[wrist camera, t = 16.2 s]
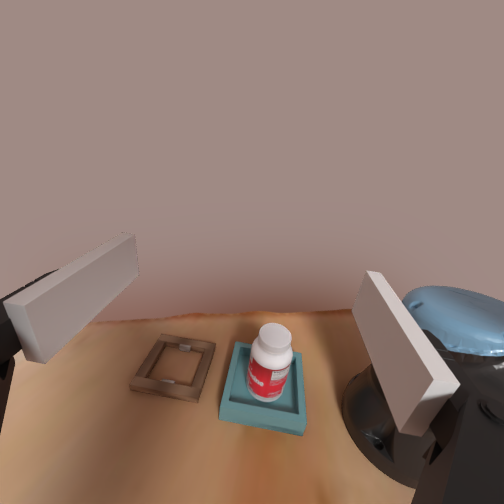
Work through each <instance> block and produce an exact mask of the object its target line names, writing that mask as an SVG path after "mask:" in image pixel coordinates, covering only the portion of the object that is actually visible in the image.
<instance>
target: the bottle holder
mask: <svg viewBox="0 0 504 504" xmlns="http://www.w3.org/2000/svg"><path fill="white" fill-rule="evenodd" d="M165 346H169V347H174V348H179V350H180V351H186V352H190V351H196V352H201V353H204V354H203V357H202V360H201V362H200V365H199V368H198V370H197V373H196V376H195V378H194V381H193V384H192V386H191V387H190V386H185V385H179V384H175V381H172V380H166V379H162V381H159V380H153V379H148V376H149V374H150V373H151V371H152V369H153V367H154V366H155V364H156V362H157V360H158V359H159V357H160V355H161V353H162V352H163V350H164V348H165ZM215 348H216V344H214V343H209V342H203V341H198V340H192V339H187V338H181V337H176V336H170V335H164V334H161V335H160V337H159V338H158V340H157V342H156V343H155V345H154V346H153V348H152V350H151V351H150V353H149V354H148V356H147V358H146V359H145V361H144V362H143V364H142V365H141V367H140V369H139V370H138V372H137V373H136V375H135V377H134V378H133V380H132V381H131V383H130V390H134V391H139V392H144V393H149V394H154V395H159V396H164V397H169V398H174V399H180V400H185V401H190V402H195V403H198V400H199V397H200V394H201V391H202V388H203V385H204V382H205V379H206V376H207V373H208V370H209V367H210V364H211V360H212V357H213V354H214V351H215Z"/></svg>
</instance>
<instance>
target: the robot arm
mask: <svg viewBox="0 0 504 504" xmlns="http://www.w3.org/2000/svg"><path fill="white" fill-rule="evenodd" d="M138 276H139V268H138V258H137V249H136V239H135V234H129V233H121V234H119V235H117V236H115V237H114V238H112V239H110V240H108V241H107V242H105V243H103V244H102V245H100V246H98V247H96V248H95V249H93V250H91V251H90V252H88V253H86V254H85V255H83V256H81V257H79V258H77V259H76V260H74V261H72V262H71V263H69V264H67V265H65V266H64V267H62V268H60V269H57V270H55V271H52V272H49V273H46V274H44V275H43V276H41V277H39V278H37V279H35V281H32V282H30V283H28V284H27V285H25V287H21V288H20V289H18V290H16V291H14V292H13V293H11V294H9V295H7V296H5V297H4V298H2V299H0V433H1V428H2V423H3V419H4V414H5V409H6V405H7V400H8V395H9V390H10V386H11V381H12V376H13V371H14V367H15V359H14V357H13V356H14V355H15V354H16V353H17V352H19V351H20V350H21V349H22V351H23V353H24V356H25V358H26V360H27V361H33V362H38V363H43V364H46V363H47V362H48V361H49V360H50V359H51V358H52V357H53V356H54V355H55V354H56V353H57V352H58V351H60V350H61V349H62V348H63V347H64V346H65V345H66V344H67V343H68V342H69V341H70V340H71V339H72V338H73V337H74V336H75V335H76V334H78V333H79V332H80V331H81V330H82V329H83V328H84V327H85V326H86V325H87V324H88V323H89V322H90V321H91V320H92V319H93V318H94V317H96V316H97V315H98V314H99V313H100V312H101V311H102V310H103V309H104V308H105V307H106V306H107V305H108V304H109V303H110V302H111V301H113V299H115V298H116V297H117V296H118V295H119V294H120V293H121V292H122V291H123V290H124V289H125V288H126V287H127V286H128V285H129V284H130V283H132V281H134V280H135V279H136V278H137V277H138ZM352 313H353V316H354V318H355V321H356V323H357V326H358V328H359V331H360V334H361V336H362V339H363V341H364V344H365V346H366V349H367V351H368V354H369V357H370V359H371V362H372V364H371V365H369V366H368V367H367V368H366V369H365V370H364V371H363V372H361V373H359V374H357V375H356V376H355V377H353V378H352V379H351V381H350V382H349V384H348V385H347V388H346V390H345V392H344V395H343V398H342V413H343V418H344V421H345V424H346V427H347V429H348V431H349V433H350V435H351V437H352V439H353V440H354V442H355V443H356V445H357V446H358V448H359V449H360V450H361V452H362V453H363V454H364V455H365V456H366V457H367V458H368V460H369V461H370V462H371V463H372V464H374V465H375V466H376V467H377V468H378V469H379V470H380V471H382V472H383V473H384V474H386V475H387V476H389V477H390V478H392V479H393V480H395V481H397V482H399V483H401V484H403V485H405V486H408V487H411V488H414V489H416V491H415V494H414V497H413V500H412V503H411V504H504V302H502V301H500V300H497V299H495V298H492V297H489V296H486V295H483V294H480V293H476V292H472V291H469V290H464V289H460V288H454V287H447V286H424V287H420V288H416V289H414V290H412V291H410V292H409V293H408V294H406V296H405V297H404V299H403V300H402V302H401V301H400V299H399V298H398V296H397V295H396V294H395V292H394V291H393V289H392V288H391V287H390V285H389V284H388V282H387V281H386V280H385V278H384V277H383V275H382V274H381V273H378V272H372V271H366V273H365V276H364V278H363V281H362V284H361V286H360V289H359V292H358V295H357V297H356V300H355V303H354V306H353V308H352Z"/></svg>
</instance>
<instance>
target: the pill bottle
mask: <svg viewBox="0 0 504 504" xmlns="http://www.w3.org/2000/svg"><path fill="white" fill-rule="evenodd" d="M292 357H293V351H292V348H291V334H290V332H289V330H288V329H287V328H285V327H284V326H282V325H280V324H277V323H268V324H265V325H263V326H262V327H261V328H260V331H259V335H258V337H257V338H256V339H255V340H254V342H253V344H252V347H251V353H250V359H249V365H248V372H247V378H246V384H247V388H248V391H249V392H250V394H251V395H252V396H253V397H254V398H255V399H257V400H259V401H262V402H272V401H275V400H277V399H278V398H279V397H280V396H281V395H282V393H283V390H284V387H285V383H286V379H287V375H288V372H289V368H290V365H291V361H292Z"/></svg>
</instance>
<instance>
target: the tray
mask: <svg viewBox="0 0 504 504" xmlns="http://www.w3.org/2000/svg"><path fill="white" fill-rule="evenodd" d="M251 347H252V344H248V343H242V342H235V346H234V350H233V355H232V359H231V363H230V367H229V371H228V376H227V380H226V384H225V388H224V392H223V396H222V401H221V405H220V413H219V420H224V421H229V422H234V423H239V424H244V425H249V426H254V427H259V428H264V429H269V430H274V431H279V432H284V433H289V434H294V435H299V436H303V433H304V430H305V427H306V425H307V419H306V406H305V394H304V381H303V368H302V356H301V353H298V352H293V357H292V361H291V365H290V368H289V372H288V375H287V379H286V383H285V387H284V390H283V393H282V395H281V396H280V397H279V398H278V399H277V400H275V401H272V402H262V401H259V400H257V399H255V398H254V397H253V396H252V395H251V394H250V392H249V391H248V388H247V384H246V378H247V372H248V365H249V359H250V353H251Z"/></svg>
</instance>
